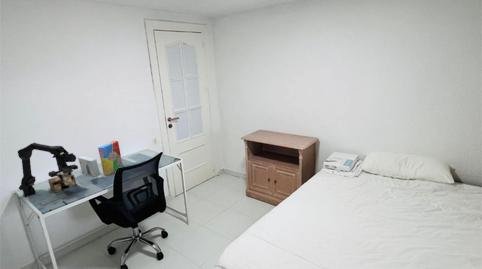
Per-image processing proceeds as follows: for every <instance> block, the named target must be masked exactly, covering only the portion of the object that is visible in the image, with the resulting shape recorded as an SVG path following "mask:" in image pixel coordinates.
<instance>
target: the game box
mask: <svg viewBox="0 0 482 269" xmlns="http://www.w3.org/2000/svg"><path fill="white" fill-rule="evenodd" d="M97 149H98V154H99V158H100V163H101V169H102V173H103V176H110V175H111V174H113V173H115V172H116V171H117V170H116V169H117V168H119V167H121V168H123V166H124V165H123V160H122V156H121V150H120V145H119V141H118V140H113V141H110V142H108V143H106V144H103V145H101V146H99V147H97ZM115 170H116V171H115Z"/></svg>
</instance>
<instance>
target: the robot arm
mask: <svg viewBox="0 0 482 269" xmlns="http://www.w3.org/2000/svg"><path fill="white" fill-rule="evenodd" d="M34 150H36V151H41V152H46V153H49V154H50V155H53V156H52V158H54V159H55V161H56V165H57V168H58V170H57V171H55V170H51V171H50V172H48V174H47V175H48V177H50V178H55V177H59V178H60V179H61V180H62V181H63V178H62V175H61V174H60V173H62V172H63V173H64V174H66V173H67V174H68V175H70V176H71V173H73V172H74V171H75V170H79V166H78V165H77V164H70V165H68V163H74V162H76V160H77V156H76V155H75V154H74V153H73V152H70V153H69V151H67V150H66V148H64V146H62V145H48V144H47V145H46V144H41V143H37V142H32V143H30V144H28V145H27V146H24V147H23V148H20V149H19V150H17V155H18V158H19V159H20V160H21V167H22V178H21V180H20V185H19V187H18V190H20V191H22V193H23V196H24V197H25V198H26V197H29V196H32V195H33V196H34V195H35V194H36V190H35V187H34V185H35V183H36V181H37V179H36V176H33V175H32V168H31V167H32V166H31V158H32V155H33V152H34Z"/></svg>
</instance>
